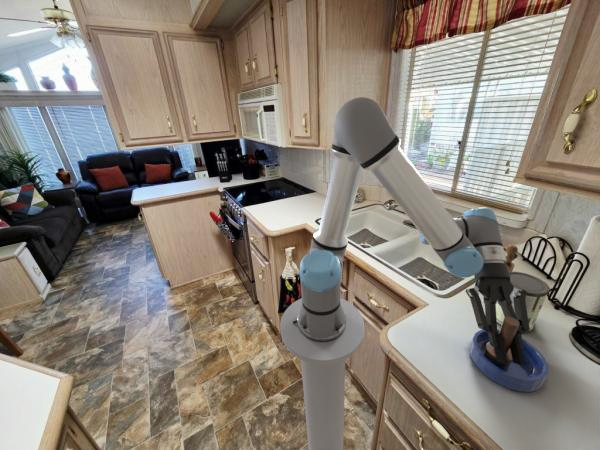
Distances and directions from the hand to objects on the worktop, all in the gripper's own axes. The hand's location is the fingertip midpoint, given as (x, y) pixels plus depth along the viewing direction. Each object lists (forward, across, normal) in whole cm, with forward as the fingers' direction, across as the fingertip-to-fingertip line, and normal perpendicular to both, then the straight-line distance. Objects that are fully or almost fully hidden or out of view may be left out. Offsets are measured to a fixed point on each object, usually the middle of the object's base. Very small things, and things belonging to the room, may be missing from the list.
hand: (510, 363), depth 58 cm
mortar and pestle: (-20, +17, +28) cm, 38 cm away
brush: (+1, 0, +6) cm, 6 cm away
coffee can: (-10, +13, +18) cm, 24 cm away
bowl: (+1, +2, +6) cm, 7 cm away
